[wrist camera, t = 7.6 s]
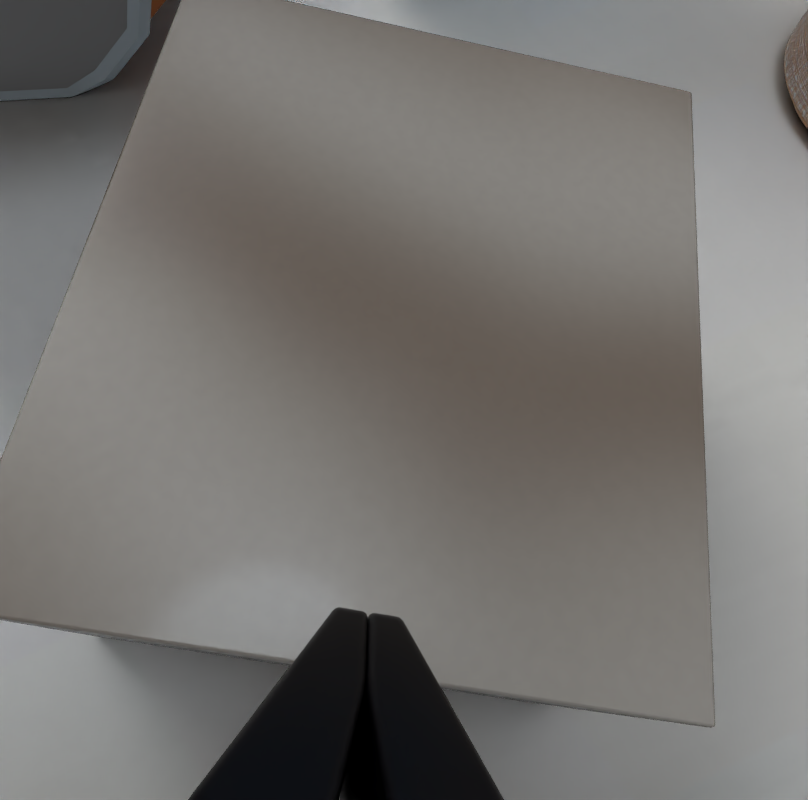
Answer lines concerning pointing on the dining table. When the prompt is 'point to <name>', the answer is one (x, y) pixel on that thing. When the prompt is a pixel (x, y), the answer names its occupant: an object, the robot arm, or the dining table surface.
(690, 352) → the grey square plate
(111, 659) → the dining table surface
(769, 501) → the dining table surface
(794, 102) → the planter
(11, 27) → the alarm clock
